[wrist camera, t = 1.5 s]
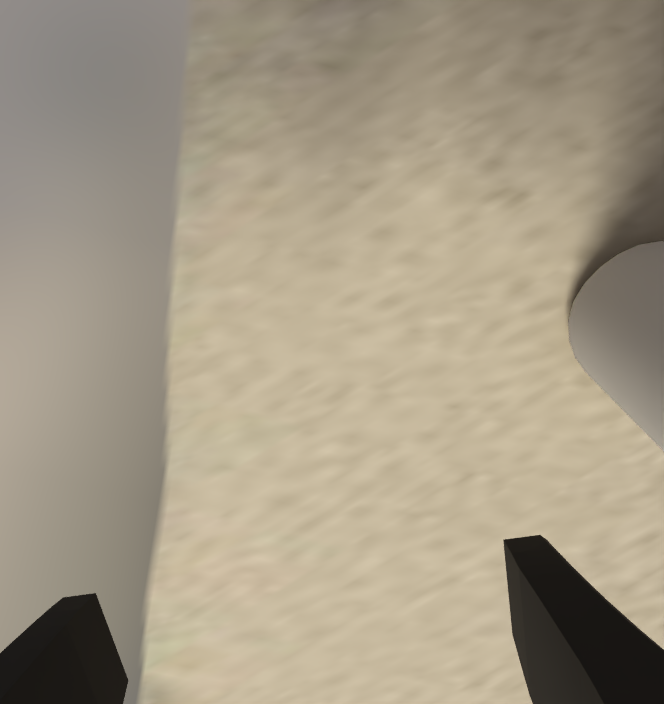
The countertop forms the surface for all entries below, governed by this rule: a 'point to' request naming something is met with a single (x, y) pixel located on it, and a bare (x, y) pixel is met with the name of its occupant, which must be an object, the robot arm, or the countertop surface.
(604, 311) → the beverage can
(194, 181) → the countertop surface
